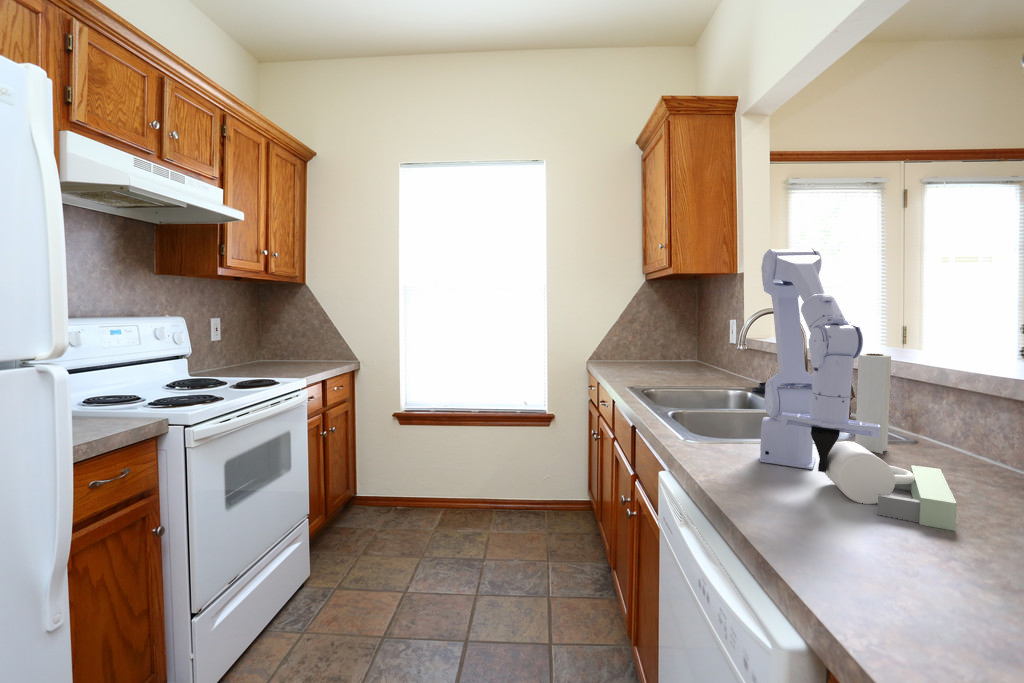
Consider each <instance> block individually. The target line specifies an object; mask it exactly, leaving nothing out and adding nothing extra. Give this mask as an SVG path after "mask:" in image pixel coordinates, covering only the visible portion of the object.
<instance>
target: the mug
mask: <svg viewBox="0 0 1024 683" xmlns="http://www.w3.org/2000/svg"><path fill="white" fill-rule="evenodd" d="M823 473H824V474H825V476H826V477H827V478H829V480H830V481H831V482H832V483H833V484H834V485H835V486H836V487H837V488H838V489H839V490H840V491H841V493H843V494H844V495H845V496H846V497H847V498H849V499H850V501H853V502H856V503H858V504H862V503H863V504H864V505H874V504H878V494H884V495H890V496H891V495H892V493H893V491H894V490H895V488H894V487H895V484H911V483H913V482H914V481H915V476H914V475H913V473H911V470H907V469H904V468H901V467H897V466H894V465H889V464H888V463H887V462H885V461H884V460H883V459H881V458H880V457H879V456H877V455H875V454H874V453H873V452H872V451H868V450H867V449H865V448H864V447H862V446H861V445H859V444H857V443H855V442H854V441H850V440H849V441H845V440H844V441H838V442H837V441H836V442H835V444H834V445H833V447H832V449H831V450H830V452H829V454H828V456H827V469H826V473H825V472H823ZM894 474H896V475H894Z"/></svg>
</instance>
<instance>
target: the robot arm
mask: <svg viewBox="0 0 1024 683" xmlns="http://www.w3.org/2000/svg"><path fill="white" fill-rule="evenodd" d="M760 267H761V279H762V287H763V291H764V293H765V294H768V295H770V297H771V301H772V302H771V303H772V309H773V310H772V312H773V322H774V323H773V324H774V333H775V345H776V356H777V366H778V368H777V369H778V372H776V373H775V374H774V375H772V376H771V377H769V378H768V379H767V380H766V383H765V384H764V387H765V388H764V391H765V392H764V398H763V399H764V400H763V402H764V404H763V405H764V408H765V411H766V414H767V415H768V416H764V417H763V418H762V421H761V426H760V427H761V428H760V445H759V446H760V447H759V449H760V450H759V451H760V452H759V453H760V456H759V462H761V463H768V464H773V465H779V466H787V467H793V468H800V469H808V470H813V469H814V466H815V463H816V460H817V459H816V458H815V457H813V448H814V447H813V445H815V447H816V448H815V449H816V451H817V453H818V458H819V462H818V466H817V471H818V472H821V473H824V472H825V473H826V469H827V456H828V454H829V452H830V450H831V449H832V447H833V445H834V444H835V443H837V441H838V440H839V438H840V434H841V433H845V434H851V435H856V434H857V435H864V436H871V437H872V438H879V435H880V425H877V424H870V423H865V422H859V421H856V420H853V419H849V418H850V407H851V397H852V396H851V394H852V384H853V381H852V380H853V372H854V359H857V358H858V357H859V355H860V354H862V353H861V352H862V349H863V347H864V346H863V345H864V337H863V332H862V331H861V328H860V326H858V324H854V323H852V322H851V321H848V320H846V318H845V316H844V314H843V313H842V311H841V309H840V307H839V304H838V303H837V301H836V300H835V298H834V297H833V296H832V295H829V294H827V293H826V294H825V290H824V288H823V285H822V282H821V279H820V277H819V275H820V272H821V268H822V256H821V253H820V251H819V250H818V249H817V248H810V249H807V248H805V249H803V248H802V249H768V250H766V251H765V253H764V255H763V257H762V262H761V266H760ZM799 297H800V298H801V300H802V302H803V303H802V304H801V307H800V306H799V305H800V304H799ZM800 312H801V314H802V317H803V320H804V321H805V324H806V325H807V326H806V327H807V328H808V330H809V333H810V336H809V338H808V348H809V349H808V350H809V352H810V365H811V367H813V372H812V374H811V373H809V372H808V371H807V370H806V363H805V362H806V361H805V354H804V344H803V335H802V324H801V315H800ZM825 473H824V474H825Z"/></svg>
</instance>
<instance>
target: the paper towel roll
mask: <svg viewBox="0 0 1024 683" xmlns="http://www.w3.org/2000/svg"><path fill="white" fill-rule="evenodd" d="M857 358H858V359H857V360H858V361H857V387H856V388H857V390H856V411H855V412H856V414H855V416H856V417H855V421H859V422H865V423H870V424H877V425H880V435H879V438H872V437H871V436H864V435H857V434H855V440H854V441H855V442H854V443H857V444H859V445H861V446H862V447H864V448H865V449H867V450H868V451H870V452H871V453H873V452H874V453H877V454H881V455H884V454H883V453H884V452H887V451H888V447H889V446H888V444H889V443H888V442H889V420H890V419H889V417H890V397H891V396H890V394H891V393H890V392H891V373H892V372H891V371H892V370H891V368H892V355H889V354H888V355H887V354H882V353H864V354H863V353H860V355H859V356H858V357H857Z"/></svg>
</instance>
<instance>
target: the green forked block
mask: <svg viewBox="0 0 1024 683" xmlns="http://www.w3.org/2000/svg"><path fill="white" fill-rule="evenodd" d="M910 472H911V473H913V475H914V476H915V481H914V482H913V483H911V484H895V487H894V489H898V490H906V491H910V493H911V496H912V498H908V497H901V496H894V495H891V494H890V495H884V494H878V503H877V514H878V515H877V516H880V515H883V516H882V517H885V516H888V517H887V518H891V517H893V518H892V519H896V518H898V519H897V520H902V519H903V521H907V520H908V522H914V523H918V522H919V523H918V524H919V525H921V526H927V527H931V528H938V529H942V530H949V531H953V532H956V525H957V507H958V506H957V501H956V499H955V497H954V495H953V492H952V490H951V488H950V486H949V485H948V482H947V480H946V478H945V476H944V473H943V472H942V469H941V468H935V467H928V466H921V465H914V464H913V465H912V464H911V465H910ZM894 475H896V474H894Z"/></svg>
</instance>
